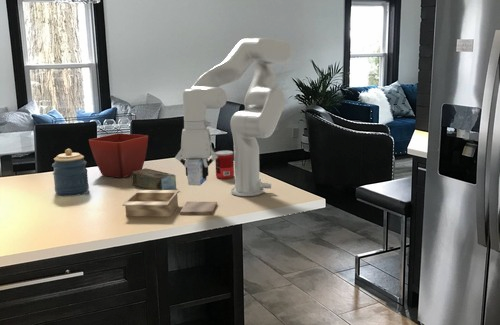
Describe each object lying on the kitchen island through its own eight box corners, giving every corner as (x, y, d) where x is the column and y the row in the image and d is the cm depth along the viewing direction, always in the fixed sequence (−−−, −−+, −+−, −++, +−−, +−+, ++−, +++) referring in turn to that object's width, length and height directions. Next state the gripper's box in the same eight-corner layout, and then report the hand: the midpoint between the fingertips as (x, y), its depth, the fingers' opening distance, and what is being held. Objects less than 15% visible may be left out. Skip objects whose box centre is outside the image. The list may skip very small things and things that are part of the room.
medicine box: (200, 185, 182) (199, 160, 181) (187, 185, 183) (186, 160, 182) (206, 180, 190) (206, 156, 188) (194, 180, 191) (193, 155, 189)
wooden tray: (179, 203, 197) (179, 190, 195) (168, 219, 179) (167, 204, 178) (138, 203, 198) (137, 190, 197) (123, 218, 180) (122, 204, 179)
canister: (95, 191, 215) (91, 148, 212) (65, 198, 206) (61, 153, 202) (78, 186, 224) (74, 144, 220) (49, 193, 215) (44, 149, 211)
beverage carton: (161, 193, 212) (160, 176, 210) (131, 186, 224) (130, 170, 223) (177, 188, 218) (176, 172, 216) (146, 182, 230) (145, 167, 228)
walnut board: (217, 204, 194) (217, 201, 194) (212, 214, 183) (211, 211, 182) (187, 204, 195) (186, 201, 195) (179, 214, 184) (179, 211, 183)
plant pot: (90, 176, 241) (87, 139, 238) (121, 167, 257) (118, 132, 254) (121, 181, 232) (118, 142, 228) (151, 171, 247) (149, 135, 244)
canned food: (237, 176, 236) (236, 151, 233) (227, 180, 229) (226, 154, 227) (223, 174, 240) (222, 149, 237) (212, 178, 233) (211, 153, 231)
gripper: (221, 123, 186) (223, 175, 189) (173, 124, 187) (175, 175, 191) (218, 126, 178) (220, 180, 182) (168, 127, 180) (170, 180, 183)
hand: (197, 177), depth 186 cm, fingers closed on medicine box, 4 cm apart
